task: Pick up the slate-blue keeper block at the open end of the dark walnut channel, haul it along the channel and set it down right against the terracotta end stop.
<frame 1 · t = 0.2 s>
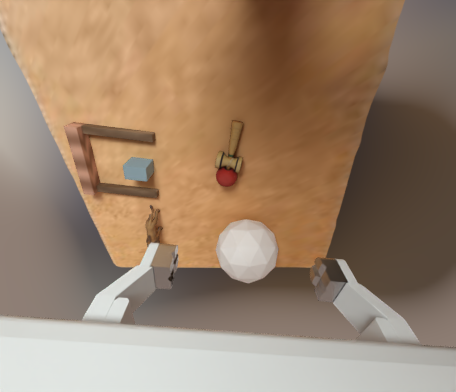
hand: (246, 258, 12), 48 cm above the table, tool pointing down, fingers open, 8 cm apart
lion figurine: (158, 222, 73), on the table
kendama: (230, 151, 59), on the table
keeper block: (143, 164, 61), on the table
geometric polyhedron: (245, 229, 75), on the table
stop channel: (125, 162, 61), on the table
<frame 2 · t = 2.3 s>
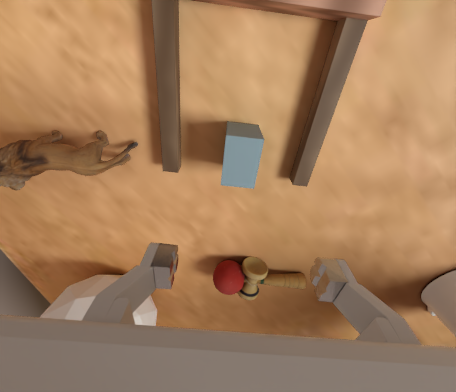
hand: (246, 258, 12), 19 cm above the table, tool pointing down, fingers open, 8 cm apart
lion figurine: (86, 147, 29), on the table
kendama: (258, 267, 42), on the table
keeper block: (239, 145, 28), on the table
geometric polyhedron: (123, 283, 46), on the table
stop channel: (245, 106, 26), on the table
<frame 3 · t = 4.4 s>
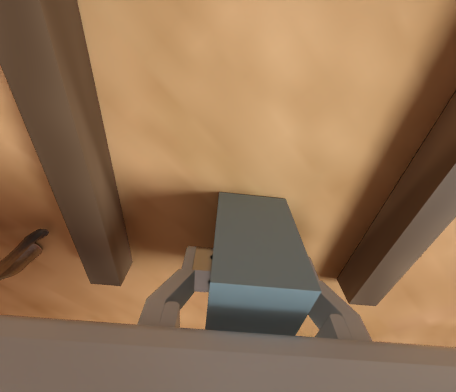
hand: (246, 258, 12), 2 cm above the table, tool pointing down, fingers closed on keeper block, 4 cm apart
keeper block: (244, 232, 14), on the table, touching gripper
stop channel: (258, 164, 11), on the table
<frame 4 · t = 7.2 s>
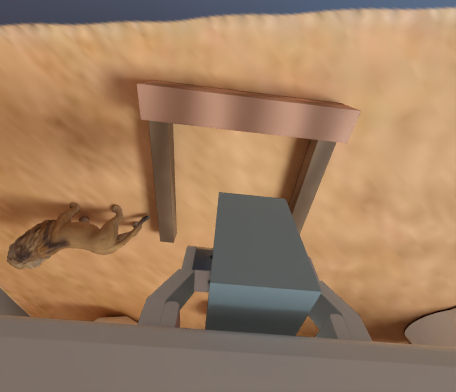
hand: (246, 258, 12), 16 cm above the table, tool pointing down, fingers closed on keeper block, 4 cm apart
lion figurine: (100, 216, 31), on the table
keeper block: (244, 232, 14), point 14 cm above the table, touching gripper
stop channel: (234, 189, 28), on the table
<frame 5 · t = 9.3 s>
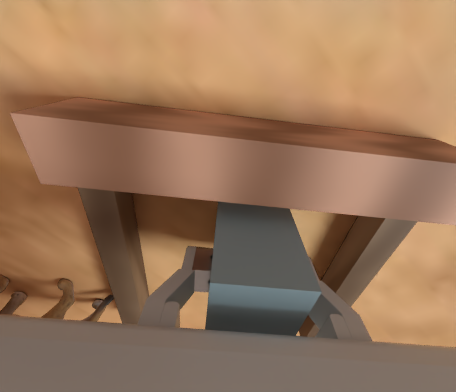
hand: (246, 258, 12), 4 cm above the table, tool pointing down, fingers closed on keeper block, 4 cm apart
lion figurine: (44, 289, 21), on the table
keeper block: (244, 232, 14), point 1 cm above the table, touching gripper
stop channel: (236, 263, 18), on the table
when the fingers open (3 cm above the table, at t = 10.2 s): keeper block drops 1 cm, on the table.
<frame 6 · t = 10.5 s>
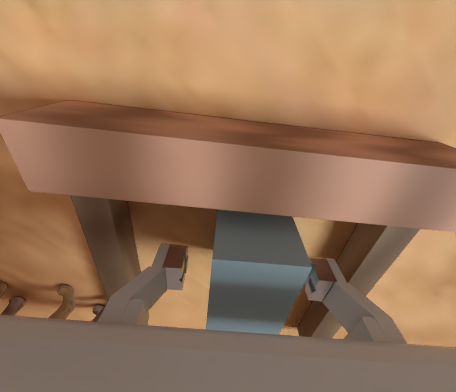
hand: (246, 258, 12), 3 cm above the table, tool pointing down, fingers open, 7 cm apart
lion figurine: (43, 294, 21), on the table
keeper block: (244, 222, 15), on the table
stop channel: (234, 268, 18), on the table
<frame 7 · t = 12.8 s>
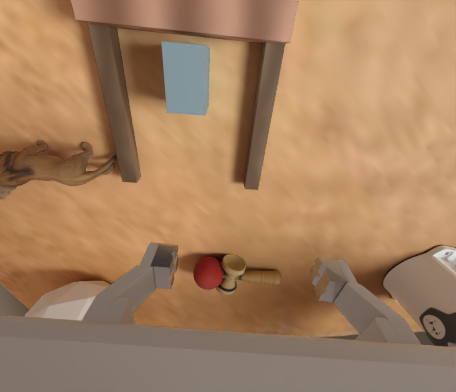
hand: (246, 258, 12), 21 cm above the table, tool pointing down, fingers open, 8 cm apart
lion figurine: (71, 157, 31), on the table
kendama: (237, 263, 45), on the table
keeper block: (192, 77, 25), on the table
geometric polyhedron: (102, 288, 48), on the table
stop channel: (192, 120, 28), on the table
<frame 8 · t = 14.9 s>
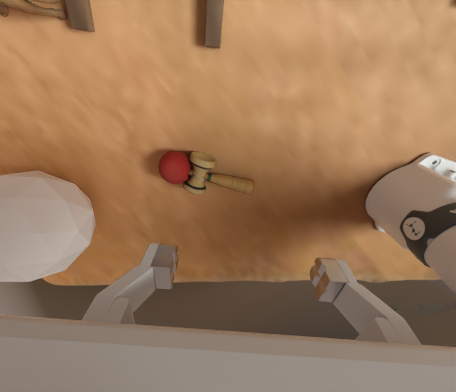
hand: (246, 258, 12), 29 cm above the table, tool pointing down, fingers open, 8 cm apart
lion figurine: (20, 4, 29), on the table
kendama: (209, 169, 42), on the table
geometric polyhedron: (67, 196, 46), on the table
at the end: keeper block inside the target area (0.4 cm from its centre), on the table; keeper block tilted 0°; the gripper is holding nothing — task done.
